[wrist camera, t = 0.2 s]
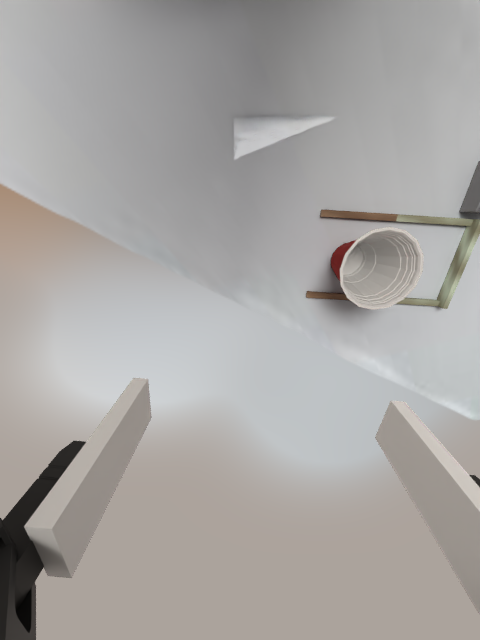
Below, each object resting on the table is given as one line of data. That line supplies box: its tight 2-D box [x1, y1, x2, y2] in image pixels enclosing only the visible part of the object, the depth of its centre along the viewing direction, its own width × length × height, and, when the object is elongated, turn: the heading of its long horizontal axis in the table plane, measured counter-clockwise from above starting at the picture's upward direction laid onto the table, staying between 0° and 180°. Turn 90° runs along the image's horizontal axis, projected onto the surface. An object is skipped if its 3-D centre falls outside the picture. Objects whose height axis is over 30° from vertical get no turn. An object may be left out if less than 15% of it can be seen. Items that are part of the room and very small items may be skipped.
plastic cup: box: [331, 227, 423, 310], centre depth 36 cm, size 11×11×12 cm
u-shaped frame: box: [306, 210, 480, 309], centre depth 41 cm, size 15×25×2 cm, turn 87°
